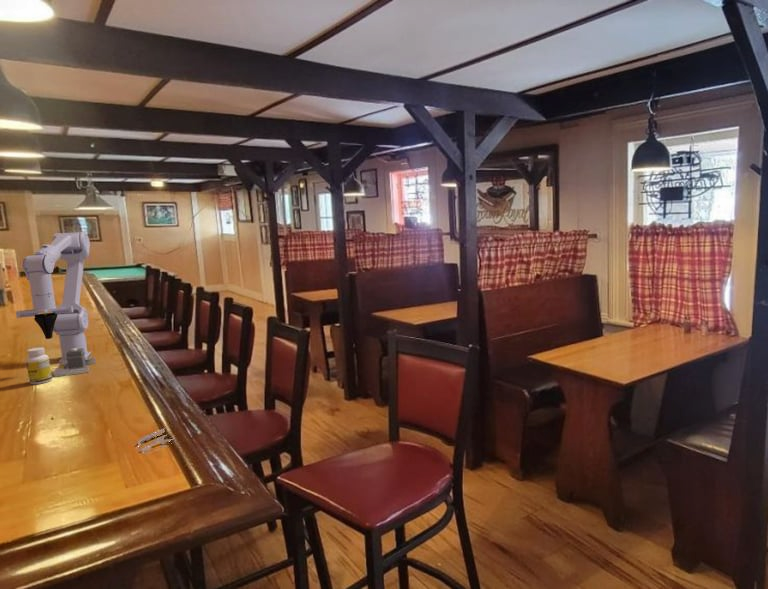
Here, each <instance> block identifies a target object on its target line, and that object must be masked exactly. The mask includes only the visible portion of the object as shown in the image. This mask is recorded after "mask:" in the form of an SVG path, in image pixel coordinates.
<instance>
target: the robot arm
mask: <svg viewBox="0 0 768 589" xmlns="http://www.w3.org/2000/svg"><path fill="white" fill-rule="evenodd" d="M51 241H52V242H51V243H50V244H45V243H44V244H42V245H41V247H40V249H38V250H36V252H35V253H34V254H33V255H27V256H26V257H24V258H23V260H22V271H23V272H24V274H25V277H26V280H27V281H28V282H29V287H30V288H29V289H30V295H31V301H32V308H33V309H32V308H31V309H24V310H17V311H16V312H15V314H16V319H21V318H29V317H34V318H33V320H34V321H35V322H36V323H37V325H38V326H39V327H40V329H41V331H42V333H43V335H44V338H45V340H49V339H53V337H54V336H53V334H54V333H55V334H56V336H58V339H59V344H60V345H59V346H60V351H61V352H60V353H61V358H60V359H59V361H58V363H62V362H63V361H67V360H66V358H67V355H66V353H67V351H68V350H71V349H72V348H77V349H81V348H83V349H84V352H85V354H84V355H85V358H89V356H90V354H91V353H92V351H88V347H87V346H88V345H87V344H88V343H87V338H86V335H85V331H86V330H87V329H88V327H89V316H88V313H89V312H88V310H87V309H86V308H85V307H84V306H82V305H81V304H80V302H81V295H82V294H81V292H82V285H83V275H84V266H85V261H86V259H87V258H89V255H90V248H91V242H90V238H89V235H88V234H87V233H86V231H77V232H61V233H60V232H55V233H54V234H53V235H52V240H51ZM59 260H62V261H65V262H66V268H65V270H66V271H65V277H64V278H65V279H64V289H63V295H62V303H61V304H60V305H58V306H56V299H55V292H54V284H53V279H52V273H53V272H54V268H55V266H56V262H58V261H59Z"/></svg>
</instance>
